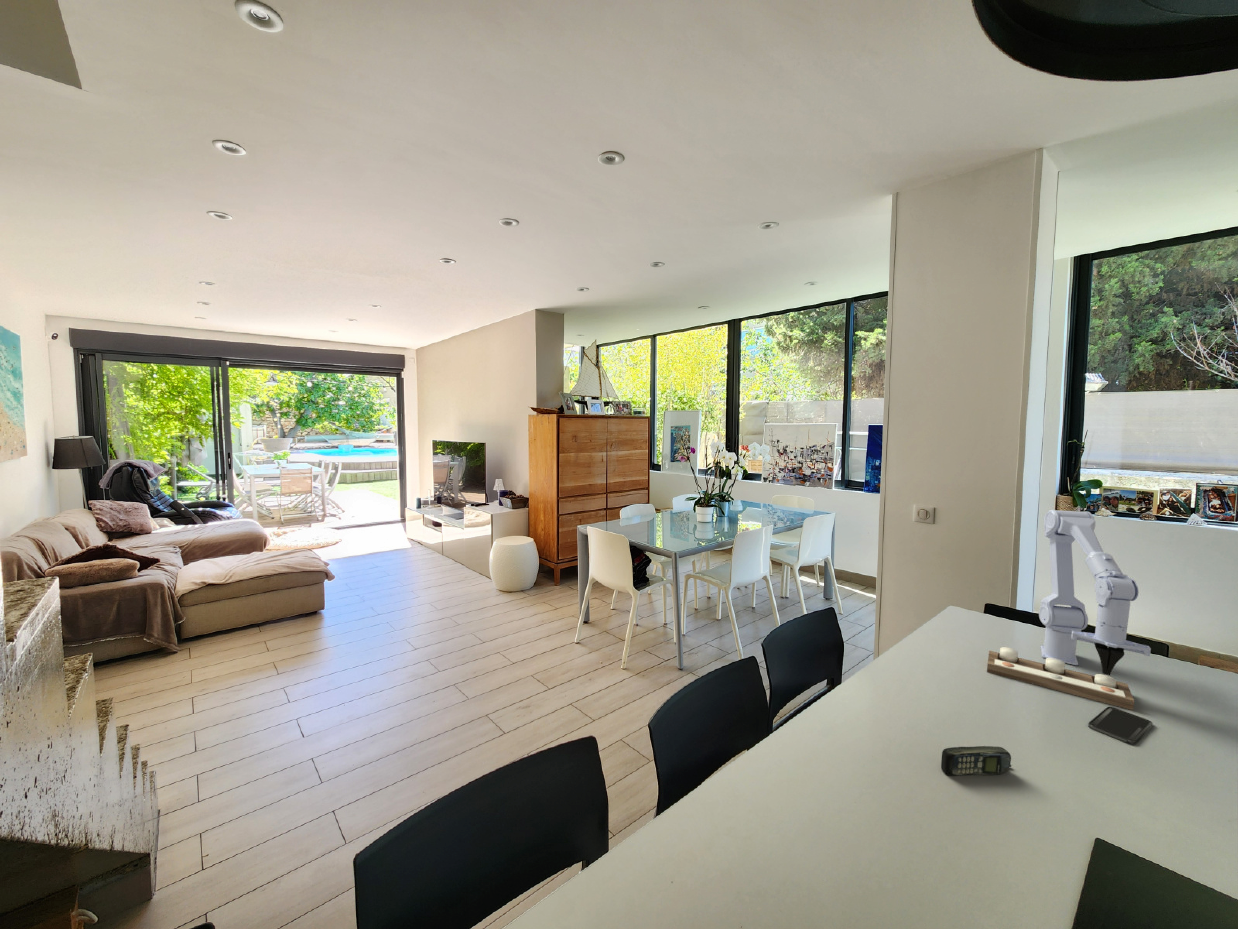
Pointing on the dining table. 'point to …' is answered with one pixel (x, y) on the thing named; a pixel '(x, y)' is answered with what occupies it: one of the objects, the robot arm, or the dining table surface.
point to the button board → (1061, 686)
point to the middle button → (1055, 665)
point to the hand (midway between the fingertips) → (1105, 673)
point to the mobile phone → (975, 760)
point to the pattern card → (1060, 678)
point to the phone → (1120, 725)
